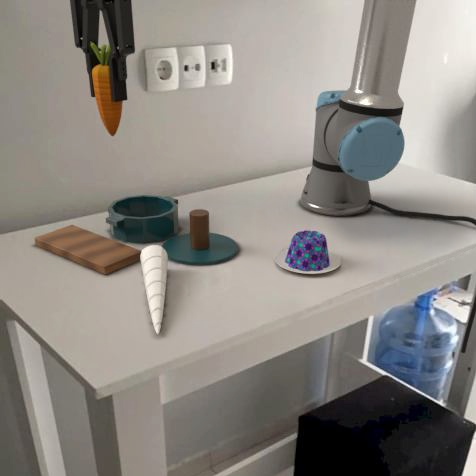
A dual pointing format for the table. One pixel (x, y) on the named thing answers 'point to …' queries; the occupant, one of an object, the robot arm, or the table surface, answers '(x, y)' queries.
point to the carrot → (105, 91)
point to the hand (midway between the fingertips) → (109, 98)
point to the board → (88, 249)
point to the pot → (143, 218)
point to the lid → (200, 243)
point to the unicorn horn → (155, 280)
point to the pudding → (308, 254)
